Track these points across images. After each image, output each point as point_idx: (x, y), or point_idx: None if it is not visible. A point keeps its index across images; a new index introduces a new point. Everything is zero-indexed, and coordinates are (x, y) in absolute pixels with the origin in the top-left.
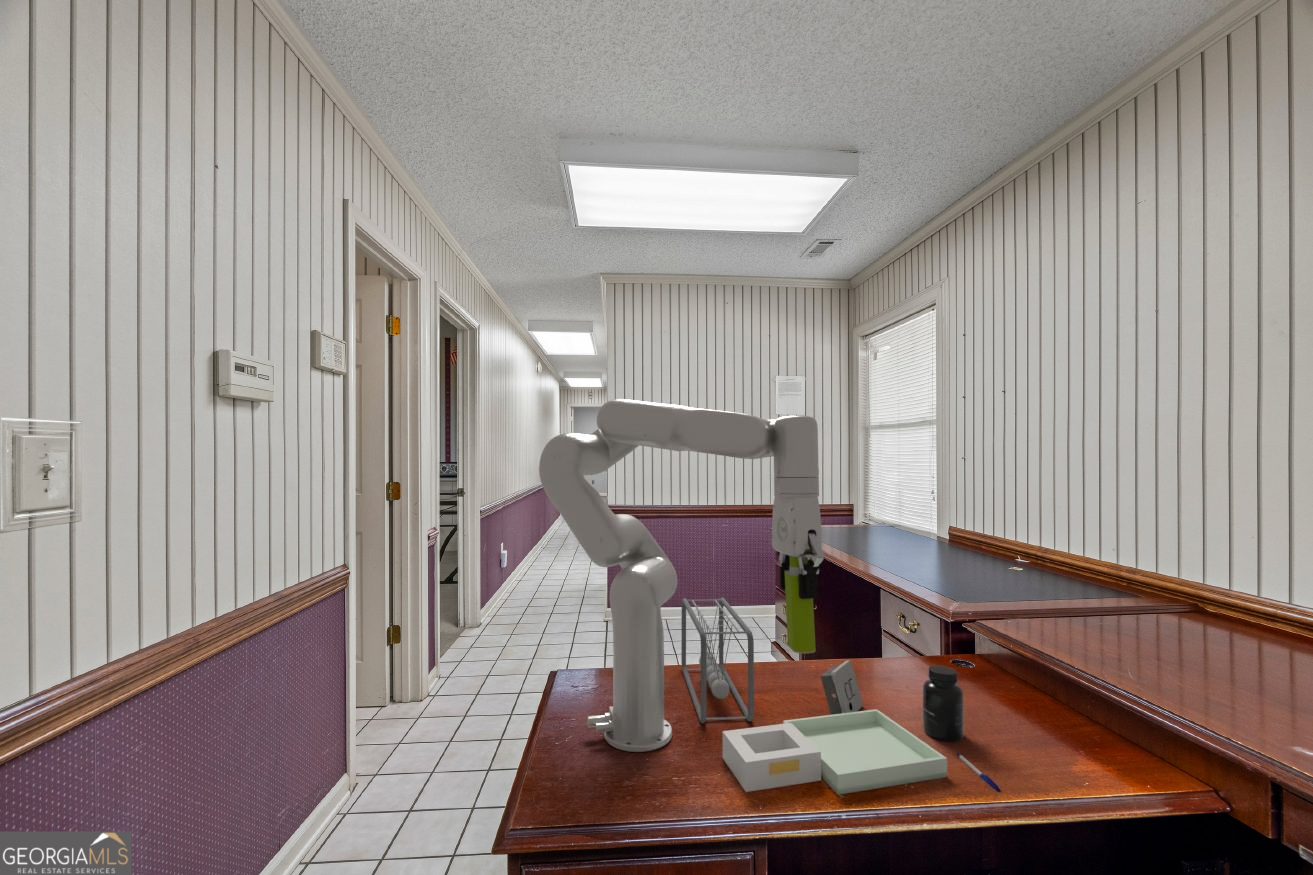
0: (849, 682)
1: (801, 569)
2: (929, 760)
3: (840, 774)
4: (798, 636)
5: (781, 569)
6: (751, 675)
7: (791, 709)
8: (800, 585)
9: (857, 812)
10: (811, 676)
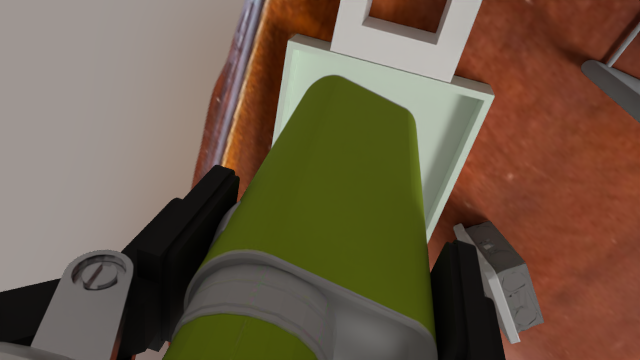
0: (484, 293)
1: (116, 288)
2: None
3: (287, 45)
4: (306, 98)
5: (466, 341)
6: (621, 96)
7: (562, 181)
8: (182, 204)
9: (252, 25)
10: (635, 316)
